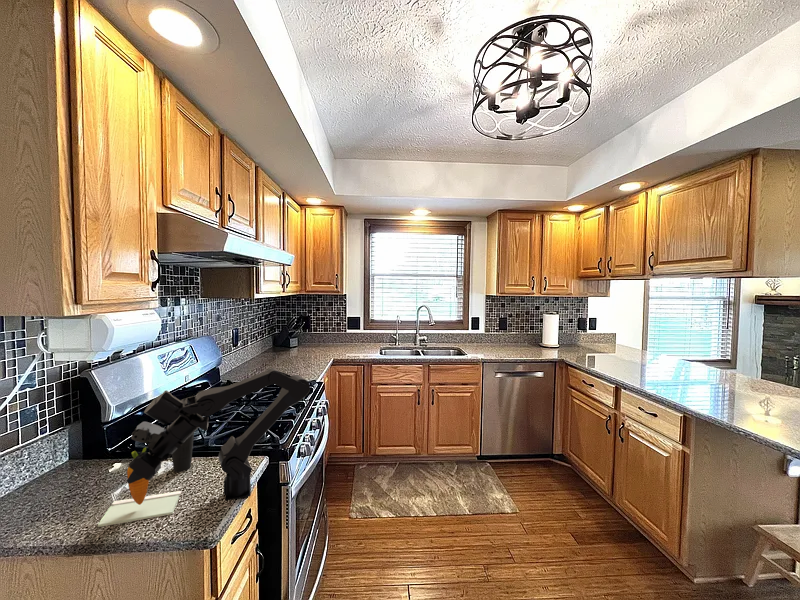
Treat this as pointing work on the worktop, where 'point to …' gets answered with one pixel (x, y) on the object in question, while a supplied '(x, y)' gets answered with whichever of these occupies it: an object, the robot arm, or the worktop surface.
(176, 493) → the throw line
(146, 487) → the carrot
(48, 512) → the worktop surface
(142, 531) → the worktop surface
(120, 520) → the mat
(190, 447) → the drinking cup
